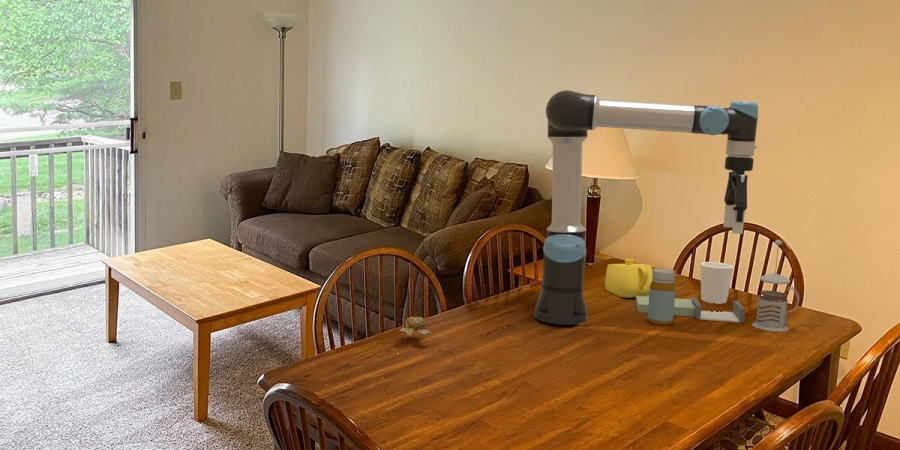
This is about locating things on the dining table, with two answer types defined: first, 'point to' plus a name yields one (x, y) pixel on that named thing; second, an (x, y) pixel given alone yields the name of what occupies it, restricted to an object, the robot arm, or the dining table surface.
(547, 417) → the dining table surface
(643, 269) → the teapot
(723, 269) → the cup
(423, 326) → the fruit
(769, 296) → the french press
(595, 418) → the dining table surface
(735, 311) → the green bar on base
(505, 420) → the dining table surface
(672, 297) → the bottle
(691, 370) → the dining table surface
